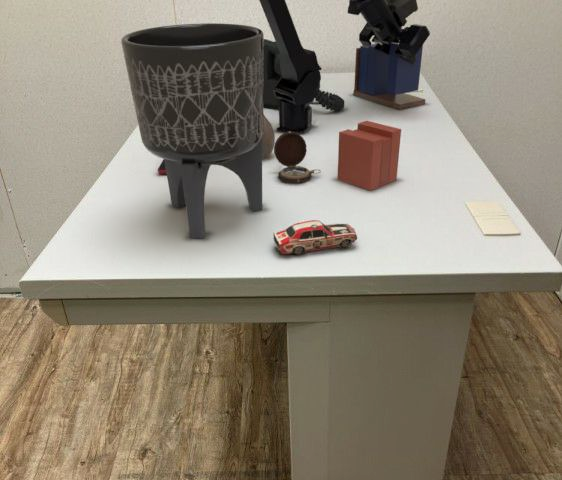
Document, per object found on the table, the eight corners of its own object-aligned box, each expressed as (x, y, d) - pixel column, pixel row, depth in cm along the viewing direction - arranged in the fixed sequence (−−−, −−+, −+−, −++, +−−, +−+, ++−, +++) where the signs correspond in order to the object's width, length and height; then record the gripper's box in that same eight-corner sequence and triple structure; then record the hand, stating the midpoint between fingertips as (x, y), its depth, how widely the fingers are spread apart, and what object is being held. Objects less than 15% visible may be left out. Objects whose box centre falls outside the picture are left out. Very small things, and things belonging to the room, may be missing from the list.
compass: (282, 185, 109) (281, 144, 105) (274, 171, 115) (273, 131, 111) (325, 181, 110) (325, 140, 106) (314, 167, 117) (315, 128, 112)
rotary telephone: (368, 98, 157) (372, 32, 148) (328, 118, 143) (330, 47, 134) (262, 85, 172) (260, 24, 163) (216, 102, 158) (211, 37, 149)
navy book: (394, 95, 145) (399, 43, 138) (386, 92, 147) (390, 41, 141) (418, 90, 148) (423, 39, 141) (409, 88, 150) (414, 38, 144)
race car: (275, 252, 92) (270, 224, 89) (352, 233, 92) (348, 205, 89) (280, 267, 88) (274, 239, 85) (360, 248, 88) (357, 219, 85)
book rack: (399, 109, 148) (404, 59, 141) (353, 95, 160) (355, 48, 153) (425, 104, 151) (430, 54, 144) (377, 90, 164) (380, 44, 157)
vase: (271, 162, 119) (269, 116, 114) (237, 161, 120) (234, 115, 115) (278, 151, 125) (277, 106, 119) (246, 150, 126) (243, 105, 120)
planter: (257, 245, 90) (246, 47, 74) (133, 238, 93) (96, 46, 77) (280, 196, 105) (275, 22, 89) (173, 191, 108) (149, 23, 92)
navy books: (373, 95, 154) (376, 47, 148) (358, 91, 159) (360, 44, 152) (396, 91, 158) (400, 44, 151) (380, 86, 162) (383, 40, 155)
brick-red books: (337, 179, 111) (338, 129, 106) (363, 169, 115) (366, 120, 109) (370, 190, 106) (373, 138, 101) (396, 180, 110) (401, 129, 105)
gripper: (429, -18, 126) (458, 36, 137) (371, -23, 138) (403, 26, 149) (396, 29, 127) (428, 79, 138) (343, 19, 140) (376, 66, 151)
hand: (409, 61), depth 144 cm, fingers closed on navy book, 3 cm apart
